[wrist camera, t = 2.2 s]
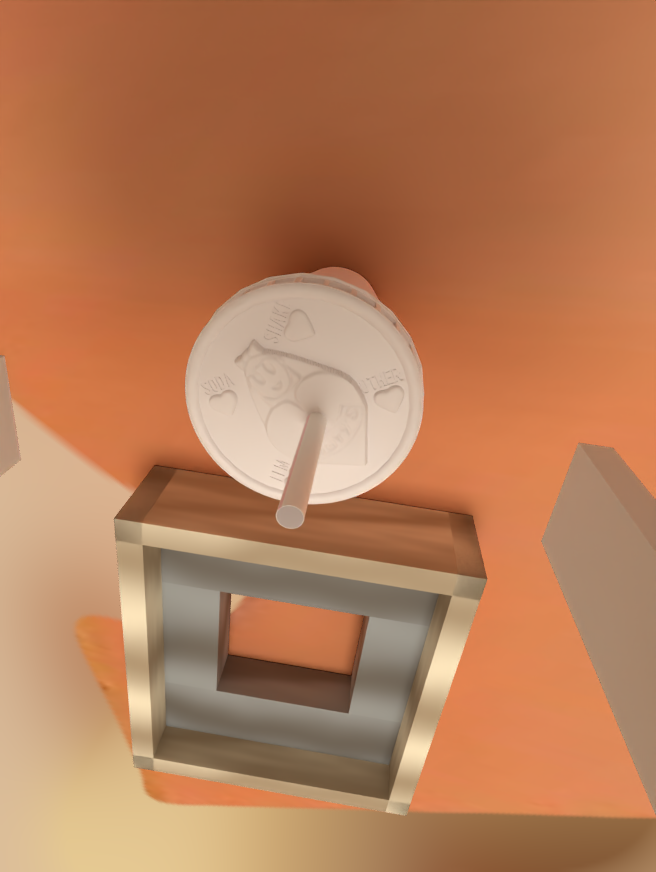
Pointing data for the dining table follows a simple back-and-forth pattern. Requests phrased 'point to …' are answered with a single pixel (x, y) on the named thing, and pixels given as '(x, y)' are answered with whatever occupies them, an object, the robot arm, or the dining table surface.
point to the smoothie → (306, 389)
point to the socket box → (277, 683)
